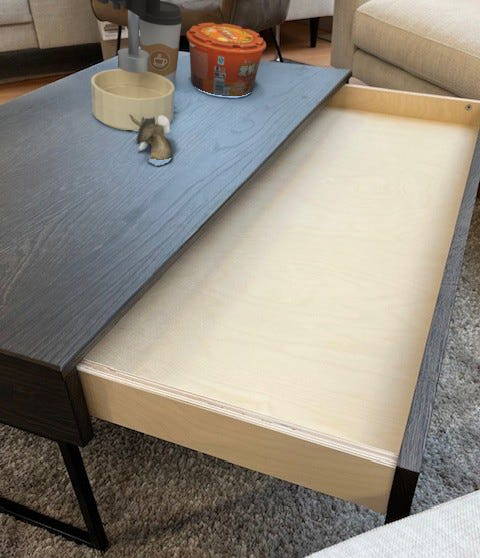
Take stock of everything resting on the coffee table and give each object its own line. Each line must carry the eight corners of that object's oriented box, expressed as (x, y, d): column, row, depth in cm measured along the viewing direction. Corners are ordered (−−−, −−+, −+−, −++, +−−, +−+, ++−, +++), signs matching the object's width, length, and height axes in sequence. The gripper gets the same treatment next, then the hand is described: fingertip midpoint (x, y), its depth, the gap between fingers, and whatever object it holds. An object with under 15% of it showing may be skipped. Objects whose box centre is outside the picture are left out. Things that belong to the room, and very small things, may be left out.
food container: (275, 94, 131) (282, 41, 124) (221, 107, 121) (227, 51, 114) (222, 69, 138) (227, 18, 131) (167, 80, 128) (169, 25, 121)
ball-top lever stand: (113, 69, 104) (111, -61, 92) (123, 60, 108) (122, -66, 96) (144, 75, 104) (145, -54, 92) (152, 65, 108) (154, -60, 96)
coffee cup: (137, 91, 121) (137, 9, 111) (137, 76, 127) (138, -3, 118) (180, 95, 123) (184, 14, 113) (178, 80, 129) (182, 2, 119)
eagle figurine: (116, 135, 102) (125, 150, 95) (138, 98, 101) (149, 110, 93) (155, 159, 106) (166, 175, 99) (177, 124, 105) (190, 137, 98)
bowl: (80, 123, 106) (78, 88, 102) (107, 95, 117) (107, 63, 114) (161, 139, 106) (162, 105, 102) (181, 109, 117) (182, 78, 113)
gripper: (123, -9, 116) (190, 31, 103) (45, -8, 108) (107, 36, 95) (122, -55, 111) (192, -19, 98) (41, -57, 103) (105, -18, 90)
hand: (150, 8), depth 96 cm, fingers closed on ball-top lever stand, 2 cm apart
